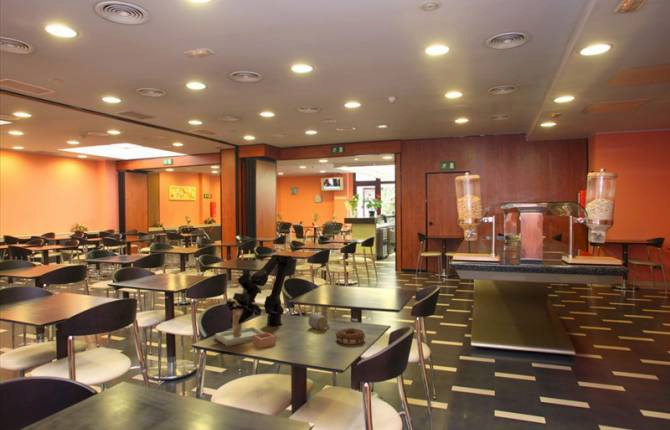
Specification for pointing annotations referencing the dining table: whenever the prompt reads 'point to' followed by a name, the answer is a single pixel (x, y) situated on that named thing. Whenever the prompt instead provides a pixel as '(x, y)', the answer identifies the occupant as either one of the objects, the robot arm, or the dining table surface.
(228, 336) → the tray
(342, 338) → the donut
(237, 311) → the dowel
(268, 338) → the square frame
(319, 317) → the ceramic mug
